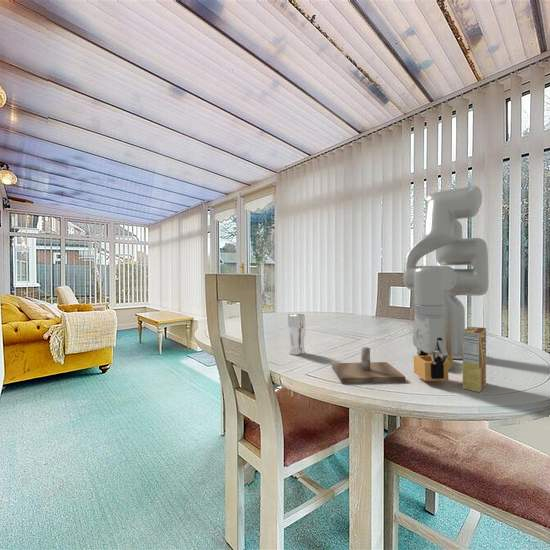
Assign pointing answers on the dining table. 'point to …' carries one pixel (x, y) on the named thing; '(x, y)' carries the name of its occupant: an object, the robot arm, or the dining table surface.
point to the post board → (367, 371)
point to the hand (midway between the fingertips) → (430, 373)
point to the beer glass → (296, 333)
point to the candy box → (474, 358)
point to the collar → (427, 367)
